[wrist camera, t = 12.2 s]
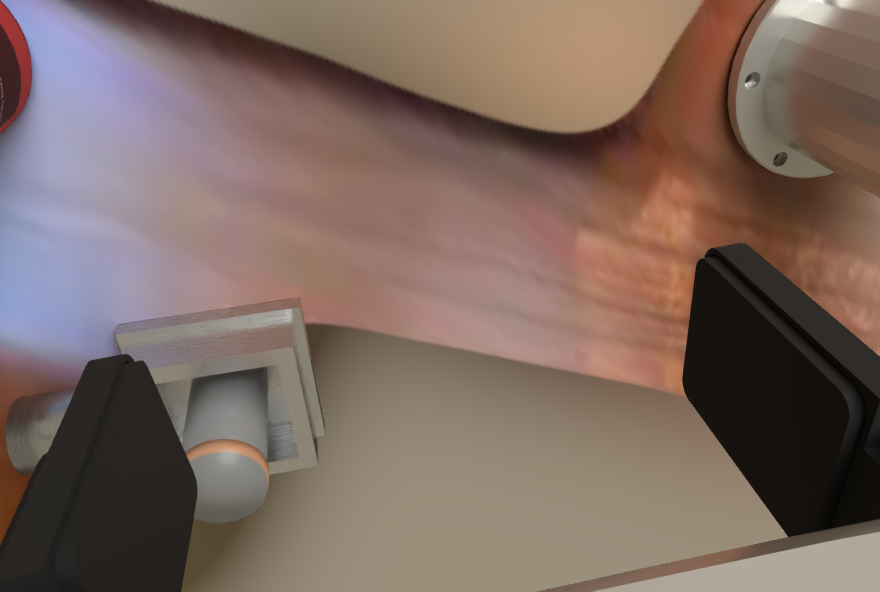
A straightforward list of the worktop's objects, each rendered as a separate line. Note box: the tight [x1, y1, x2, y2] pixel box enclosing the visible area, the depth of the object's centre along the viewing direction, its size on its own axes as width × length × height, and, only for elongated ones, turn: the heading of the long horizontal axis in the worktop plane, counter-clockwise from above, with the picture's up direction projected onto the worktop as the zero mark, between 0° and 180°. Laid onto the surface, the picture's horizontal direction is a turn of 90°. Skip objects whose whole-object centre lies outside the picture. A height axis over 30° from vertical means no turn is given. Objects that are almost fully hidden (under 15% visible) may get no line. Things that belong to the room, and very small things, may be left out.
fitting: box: [6, 298, 326, 476], centre depth 39 cm, size 16×10×4 cm, turn 93°
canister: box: [182, 368, 269, 523], centre depth 37 cm, size 5×5×8 cm
